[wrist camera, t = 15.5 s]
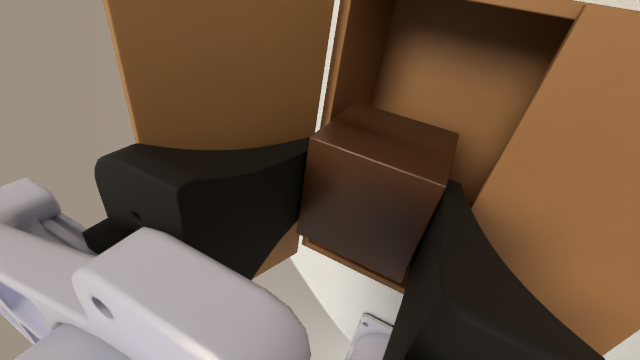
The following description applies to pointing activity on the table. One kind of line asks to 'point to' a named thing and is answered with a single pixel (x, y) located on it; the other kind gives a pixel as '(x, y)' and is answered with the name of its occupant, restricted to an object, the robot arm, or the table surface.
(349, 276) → the table surface
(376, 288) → the table surface
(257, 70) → the flap
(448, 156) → the block
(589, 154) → the carton
